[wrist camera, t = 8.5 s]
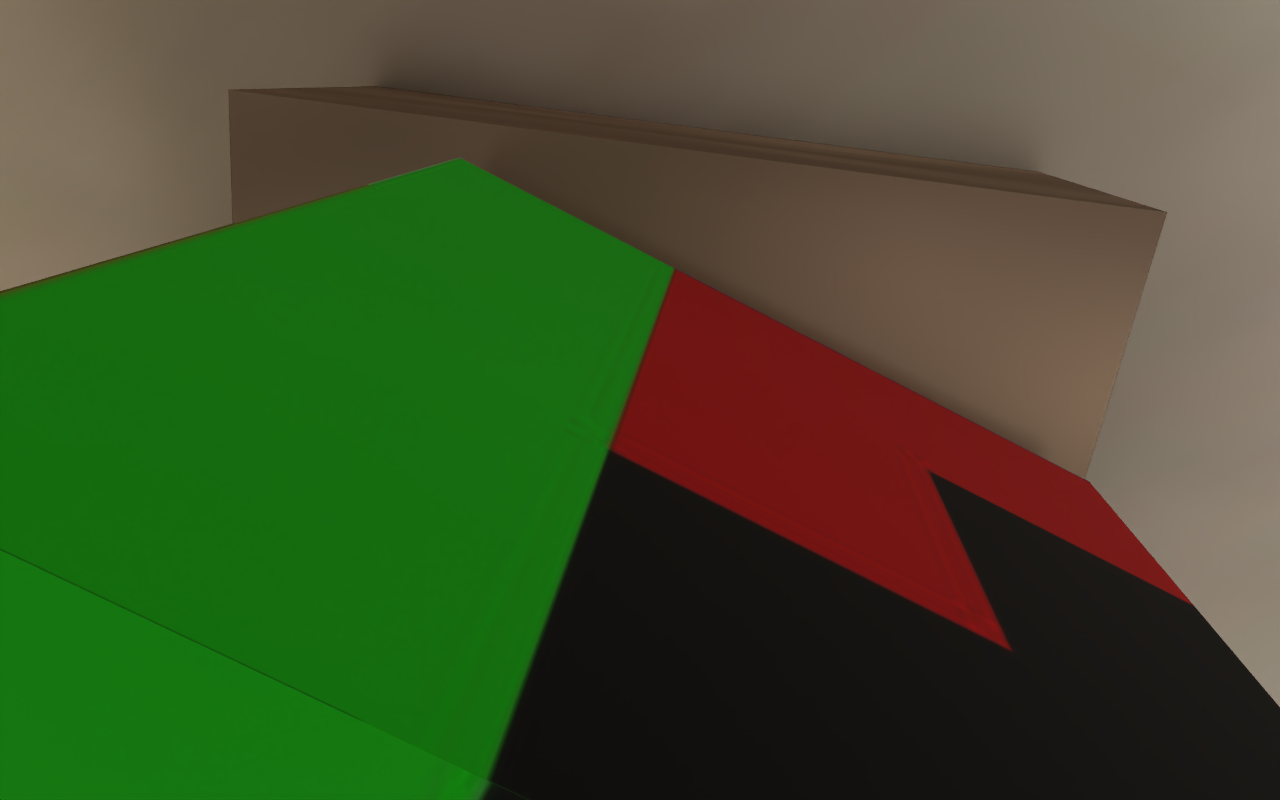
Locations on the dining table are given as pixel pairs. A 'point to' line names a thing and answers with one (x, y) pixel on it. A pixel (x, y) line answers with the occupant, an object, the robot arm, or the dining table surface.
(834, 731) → the puzzle toy
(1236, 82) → the dining table surface
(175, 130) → the dining table surface
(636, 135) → the walnut plinth
